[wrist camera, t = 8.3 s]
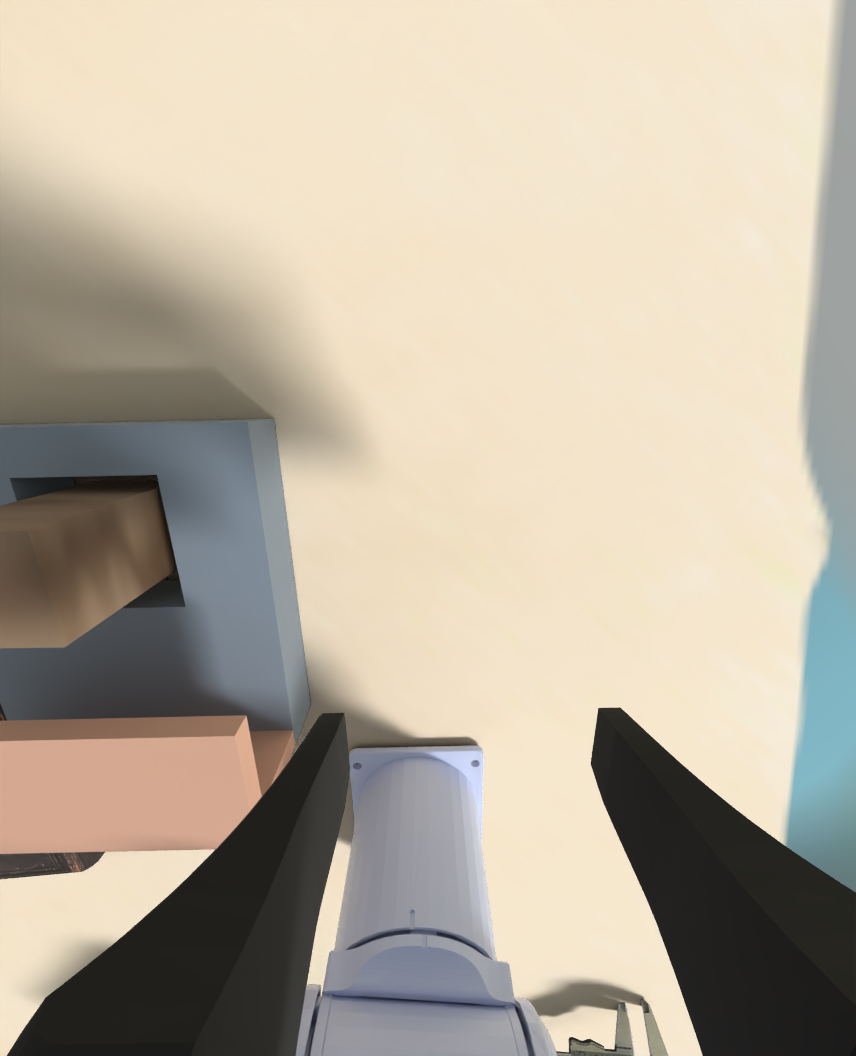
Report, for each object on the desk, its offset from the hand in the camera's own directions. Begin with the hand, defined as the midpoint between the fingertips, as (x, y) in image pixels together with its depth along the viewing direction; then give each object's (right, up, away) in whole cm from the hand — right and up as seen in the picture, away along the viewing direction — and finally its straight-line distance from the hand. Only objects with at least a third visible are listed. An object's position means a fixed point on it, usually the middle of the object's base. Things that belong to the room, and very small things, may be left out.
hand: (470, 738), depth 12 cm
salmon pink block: (-15, -3, +9) cm, 17 cm away
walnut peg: (-15, +6, +9) cm, 19 cm away
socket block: (-15, +3, +10) cm, 18 cm away
